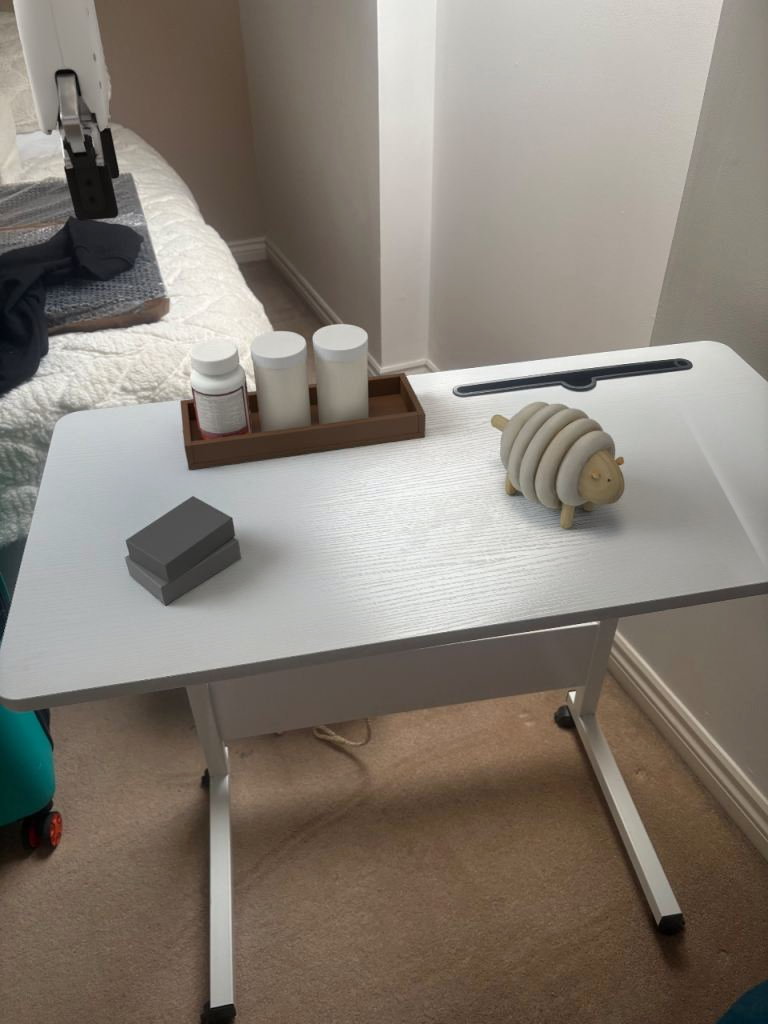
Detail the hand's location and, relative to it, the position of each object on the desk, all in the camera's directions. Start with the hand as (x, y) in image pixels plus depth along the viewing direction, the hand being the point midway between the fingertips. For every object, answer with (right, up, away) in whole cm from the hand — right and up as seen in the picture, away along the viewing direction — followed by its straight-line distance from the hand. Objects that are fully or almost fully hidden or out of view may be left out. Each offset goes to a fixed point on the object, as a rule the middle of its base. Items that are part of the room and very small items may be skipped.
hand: (99, 197), depth 69 cm
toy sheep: (+41, -25, +21) cm, 52 cm away
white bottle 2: (+19, -15, +31) cm, 39 cm away
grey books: (+4, -31, +13) cm, 34 cm away
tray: (+14, -16, +31) cm, 38 cm away
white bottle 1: (+12, -16, +30) cm, 36 cm away
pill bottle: (+5, -17, +29) cm, 34 cm away
